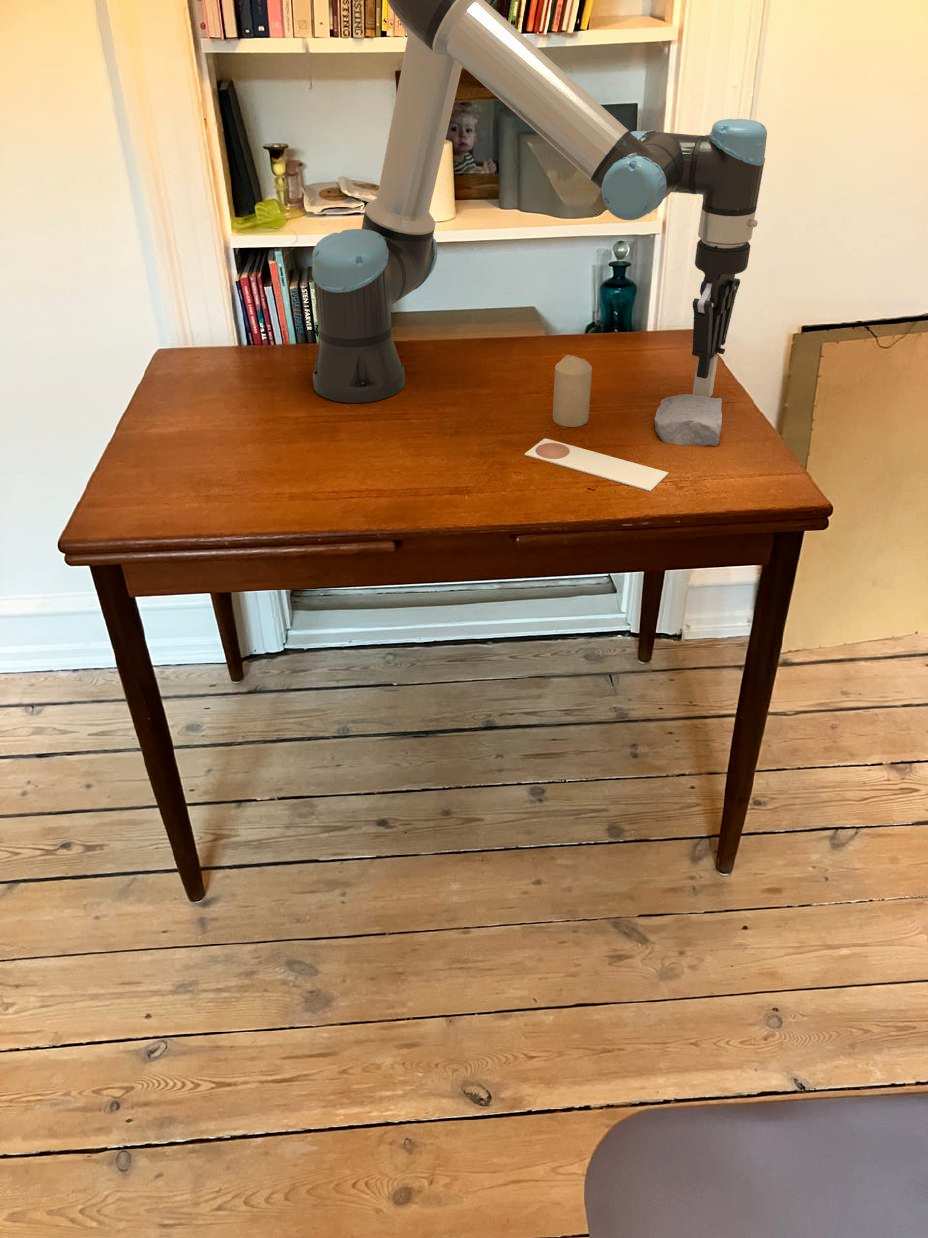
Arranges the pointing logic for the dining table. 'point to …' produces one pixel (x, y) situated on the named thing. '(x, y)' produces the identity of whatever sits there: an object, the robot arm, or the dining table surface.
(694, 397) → the stone block
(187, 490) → the dining table surface
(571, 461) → the test strip
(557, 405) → the candle
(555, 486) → the dining table surface
